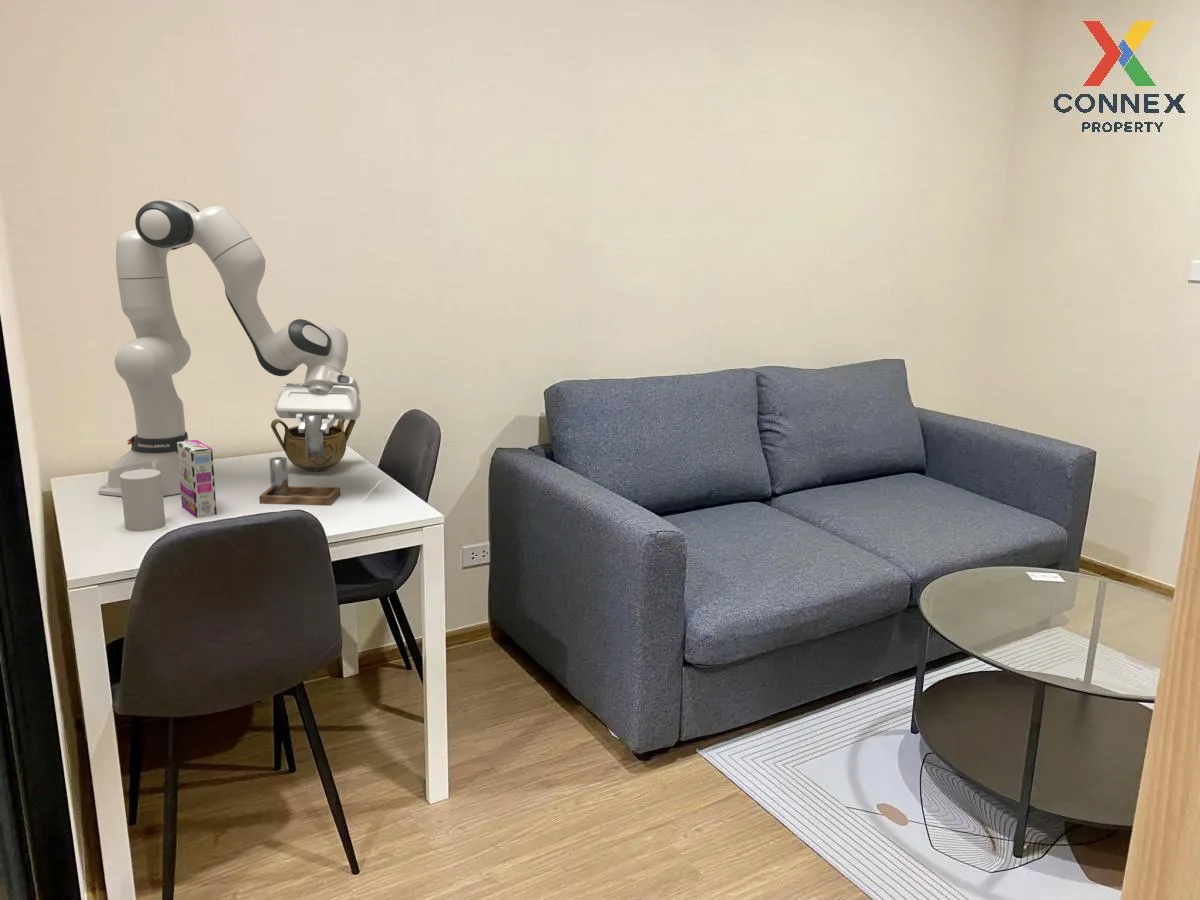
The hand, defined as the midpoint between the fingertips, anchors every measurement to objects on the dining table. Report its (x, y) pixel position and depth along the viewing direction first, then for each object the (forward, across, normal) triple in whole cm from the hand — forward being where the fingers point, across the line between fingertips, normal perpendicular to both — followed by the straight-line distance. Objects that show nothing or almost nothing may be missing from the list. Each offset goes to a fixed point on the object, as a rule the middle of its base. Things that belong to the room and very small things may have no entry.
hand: (313, 431), depth 224 cm
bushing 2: (+4, 0, +5) cm, 6 cm away
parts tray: (+12, -4, +13) cm, 18 cm away
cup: (+27, -33, -2) cm, 42 cm away
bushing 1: (+12, -9, +12) cm, 19 cm away
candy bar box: (+20, -25, +6) cm, 32 cm away
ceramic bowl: (-9, -9, +34) cm, 36 cm away
